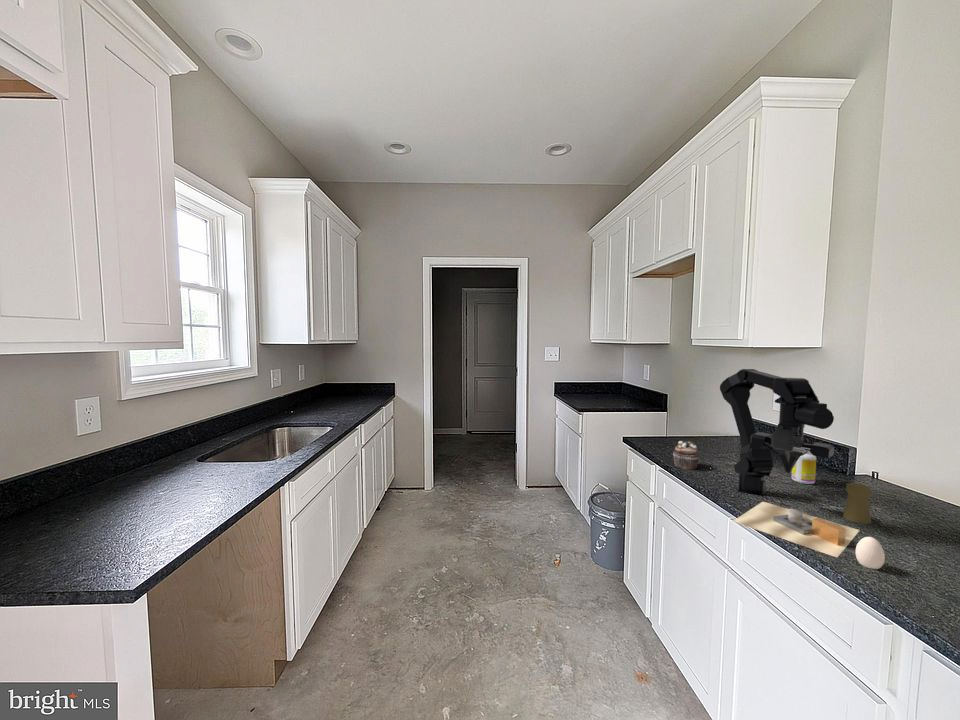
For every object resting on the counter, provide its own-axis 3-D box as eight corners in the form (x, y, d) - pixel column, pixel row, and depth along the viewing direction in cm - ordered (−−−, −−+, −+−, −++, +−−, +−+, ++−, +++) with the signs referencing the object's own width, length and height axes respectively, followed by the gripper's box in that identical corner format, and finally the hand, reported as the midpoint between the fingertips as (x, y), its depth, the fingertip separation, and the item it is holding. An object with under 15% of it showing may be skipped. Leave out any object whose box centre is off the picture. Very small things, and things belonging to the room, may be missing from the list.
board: (732, 524, 109) (733, 507, 109) (762, 504, 122) (763, 488, 122) (837, 561, 91) (838, 540, 91) (859, 533, 104) (860, 515, 104)
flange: (773, 520, 109) (774, 506, 109) (795, 517, 111) (796, 503, 111) (829, 547, 96) (830, 531, 96) (852, 542, 98) (854, 527, 98)
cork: (841, 515, 115) (843, 478, 114) (870, 521, 111) (872, 483, 110) (842, 523, 110) (845, 484, 110) (873, 530, 107) (875, 490, 106)
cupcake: (668, 462, 163) (669, 438, 162) (692, 462, 163) (693, 438, 162) (679, 469, 153) (679, 444, 153) (704, 470, 153) (705, 445, 152)
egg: (868, 563, 91) (870, 532, 91) (889, 575, 86) (892, 542, 86) (848, 563, 91) (850, 532, 90) (869, 575, 86) (871, 543, 86)
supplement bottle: (819, 483, 140) (821, 447, 139) (807, 485, 138) (810, 449, 137) (798, 476, 146) (800, 443, 145) (786, 479, 144) (788, 444, 143)
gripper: (744, 418, 118) (741, 469, 119) (824, 431, 103) (820, 489, 104) (758, 414, 125) (756, 462, 126) (836, 425, 110) (832, 480, 111)
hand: (788, 472), depth 116 cm, fingers closed
